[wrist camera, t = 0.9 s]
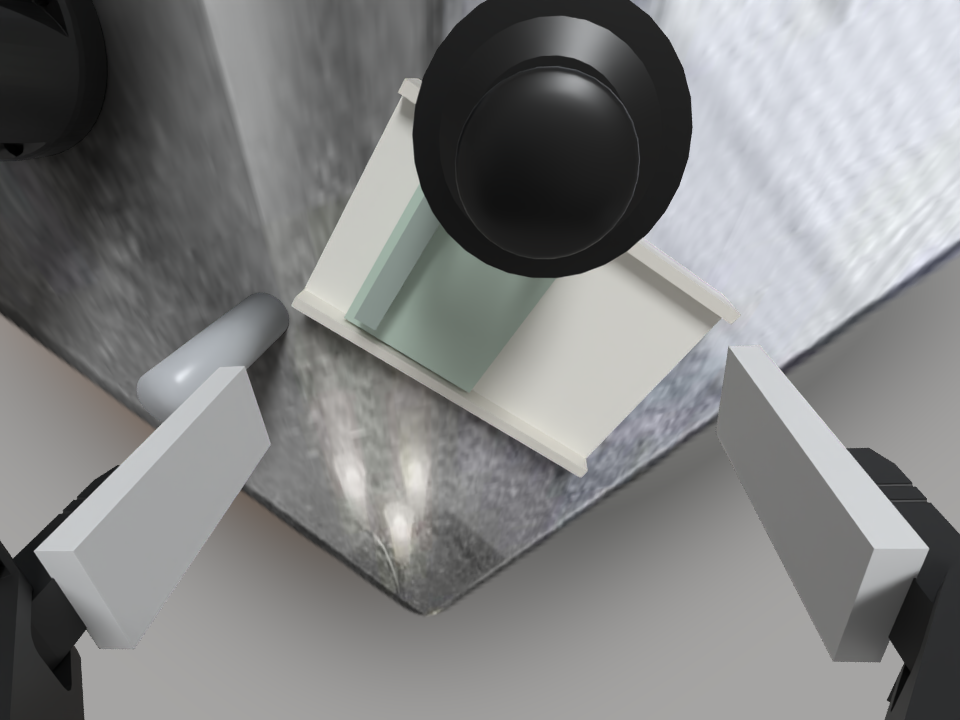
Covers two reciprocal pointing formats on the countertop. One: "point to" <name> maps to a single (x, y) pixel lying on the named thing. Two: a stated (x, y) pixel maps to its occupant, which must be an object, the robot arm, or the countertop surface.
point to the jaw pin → (213, 353)
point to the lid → (441, 299)
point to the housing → (528, 320)
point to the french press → (552, 133)
